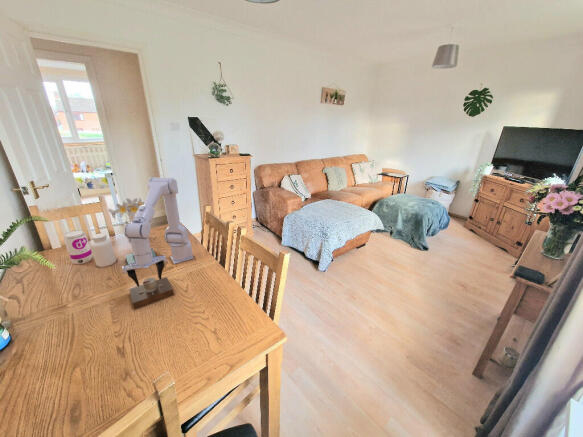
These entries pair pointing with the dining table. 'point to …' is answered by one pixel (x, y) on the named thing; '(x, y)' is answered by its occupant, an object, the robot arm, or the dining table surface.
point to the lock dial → (150, 284)
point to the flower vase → (127, 208)
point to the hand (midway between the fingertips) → (149, 281)
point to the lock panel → (151, 293)
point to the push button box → (131, 257)
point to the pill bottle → (102, 250)
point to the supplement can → (78, 246)
